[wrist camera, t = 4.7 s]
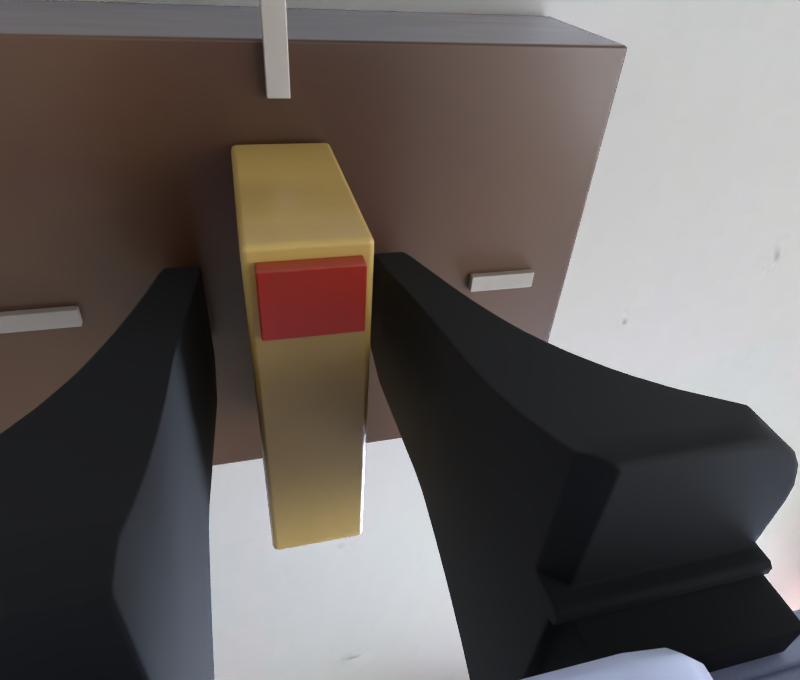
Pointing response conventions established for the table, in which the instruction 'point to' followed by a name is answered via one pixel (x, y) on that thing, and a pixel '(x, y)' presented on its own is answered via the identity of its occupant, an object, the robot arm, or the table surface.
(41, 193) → the lock plate
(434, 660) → the table surface
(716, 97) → the table surface
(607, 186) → the table surface
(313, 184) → the handle
